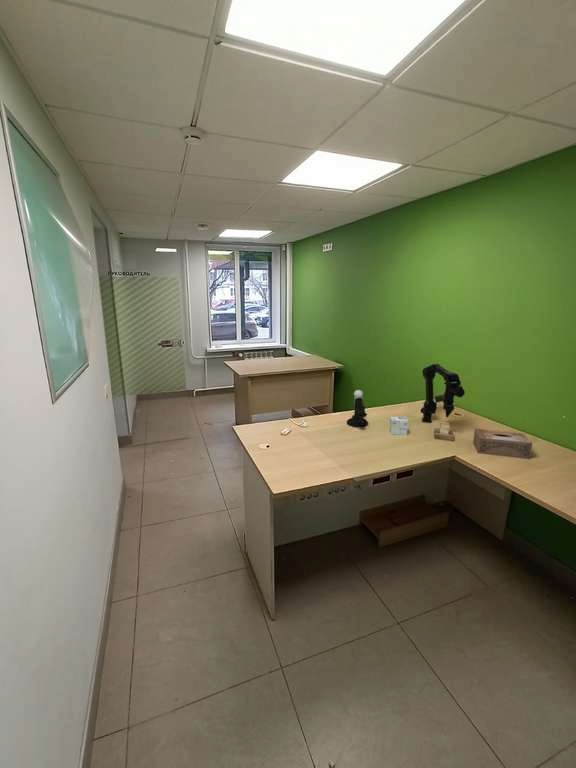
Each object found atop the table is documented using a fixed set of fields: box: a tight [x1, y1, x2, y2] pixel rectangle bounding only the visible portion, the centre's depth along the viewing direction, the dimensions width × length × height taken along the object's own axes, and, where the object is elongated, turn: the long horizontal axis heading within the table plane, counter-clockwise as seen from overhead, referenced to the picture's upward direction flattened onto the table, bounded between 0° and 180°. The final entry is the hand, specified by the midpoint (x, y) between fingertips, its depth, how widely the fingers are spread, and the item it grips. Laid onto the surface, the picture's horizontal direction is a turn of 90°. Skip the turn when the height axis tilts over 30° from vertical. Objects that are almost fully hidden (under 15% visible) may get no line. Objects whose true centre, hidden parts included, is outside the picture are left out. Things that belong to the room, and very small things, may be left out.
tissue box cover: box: [472, 428, 533, 460], centre depth 197 cm, size 26×14×10 cm, turn 72°
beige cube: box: [439, 421, 450, 434], centre depth 216 cm, size 5×5×6 cm
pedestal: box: [433, 428, 455, 442], centre depth 217 cm, size 11×11×3 cm
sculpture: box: [346, 389, 369, 428], centre depth 234 cm, size 15×24×25 cm, turn 1°
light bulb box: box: [389, 416, 409, 436], centre depth 223 cm, size 11×7×11 cm, turn 84°
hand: (446, 414), depth 221 cm, fingers open, 9 cm apart
